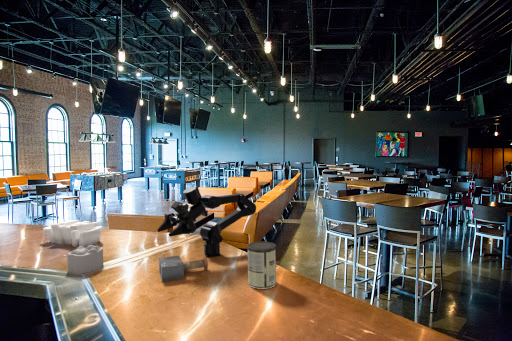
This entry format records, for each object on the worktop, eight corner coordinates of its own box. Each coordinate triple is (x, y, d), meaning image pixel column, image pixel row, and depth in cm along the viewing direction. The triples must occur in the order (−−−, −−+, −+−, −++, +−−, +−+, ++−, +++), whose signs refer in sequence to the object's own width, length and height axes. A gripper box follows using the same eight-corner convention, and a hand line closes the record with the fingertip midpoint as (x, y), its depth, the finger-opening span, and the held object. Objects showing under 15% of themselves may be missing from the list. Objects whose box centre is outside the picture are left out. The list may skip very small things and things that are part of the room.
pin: (205, 266, 130) (205, 255, 130) (207, 270, 126) (207, 259, 125) (172, 271, 125) (172, 259, 125) (174, 275, 121) (174, 263, 121)
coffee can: (253, 277, 120) (252, 240, 119) (279, 280, 116) (279, 242, 116) (243, 287, 110) (242, 247, 109) (271, 291, 107) (271, 250, 106)
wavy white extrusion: (110, 242, 168) (110, 223, 168) (81, 251, 154) (80, 229, 153) (69, 235, 184) (68, 217, 184) (39, 242, 169) (38, 223, 169)
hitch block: (179, 267, 130) (179, 255, 129) (183, 278, 119) (183, 264, 118) (158, 270, 127) (158, 257, 126) (161, 281, 116) (161, 267, 115)
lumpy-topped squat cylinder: (64, 271, 127) (63, 250, 126) (92, 261, 139) (92, 241, 138) (81, 275, 122) (81, 253, 122) (109, 264, 134) (109, 244, 134)
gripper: (174, 194, 143) (144, 212, 133) (198, 200, 129) (167, 220, 120) (183, 215, 147) (155, 234, 137) (207, 222, 133) (178, 244, 124)
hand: (163, 233), depth 129 cm, fingers open, 9 cm apart
